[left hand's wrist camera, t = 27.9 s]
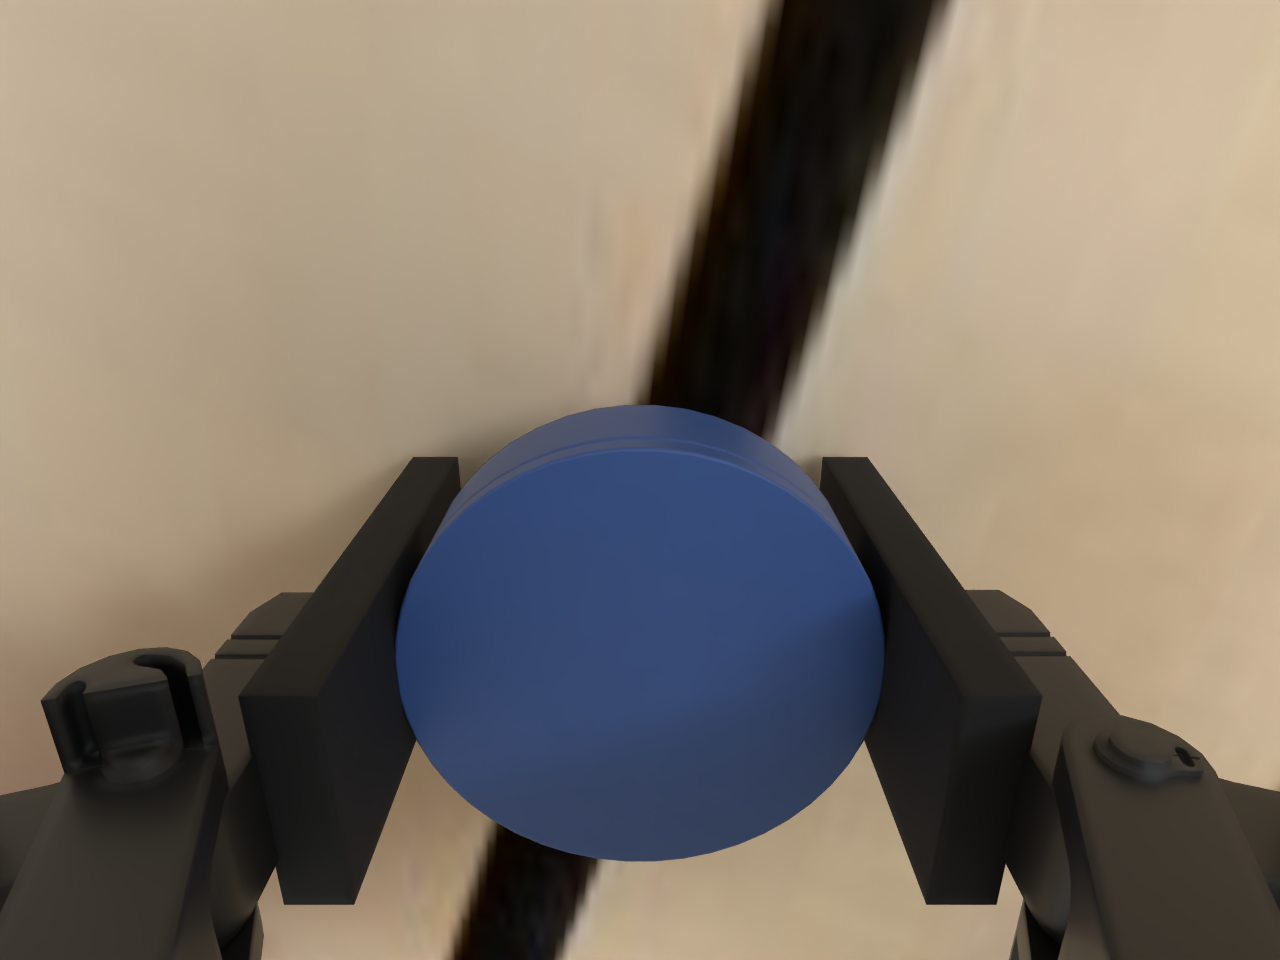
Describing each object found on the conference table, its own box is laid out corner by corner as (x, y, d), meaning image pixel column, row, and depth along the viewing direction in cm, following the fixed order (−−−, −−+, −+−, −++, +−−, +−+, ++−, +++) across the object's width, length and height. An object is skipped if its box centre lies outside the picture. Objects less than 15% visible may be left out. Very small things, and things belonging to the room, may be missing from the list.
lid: (491, 801, 13) (469, 891, 12) (370, 450, 11) (324, 501, 9) (871, 741, 13) (904, 825, 11) (828, 362, 11) (861, 400, 9)
